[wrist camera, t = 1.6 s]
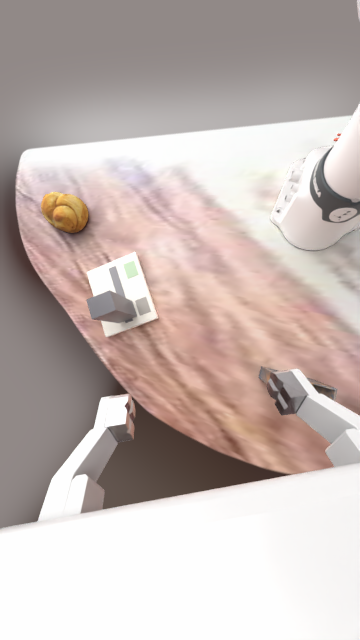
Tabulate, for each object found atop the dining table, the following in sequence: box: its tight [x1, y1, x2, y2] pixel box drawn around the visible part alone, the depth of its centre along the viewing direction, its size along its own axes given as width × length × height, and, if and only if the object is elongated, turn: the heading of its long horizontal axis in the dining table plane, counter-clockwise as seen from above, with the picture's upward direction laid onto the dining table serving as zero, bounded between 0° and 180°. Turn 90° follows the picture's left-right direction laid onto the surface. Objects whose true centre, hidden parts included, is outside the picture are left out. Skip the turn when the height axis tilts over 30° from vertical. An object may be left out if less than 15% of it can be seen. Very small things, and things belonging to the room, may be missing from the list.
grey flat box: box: [259, 367, 337, 401], centre depth 38 cm, size 11×3×10 cm, turn 77°
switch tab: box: [87, 290, 137, 323], centre depth 41 cm, size 4×5×11 cm
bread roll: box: [41, 192, 88, 233], centre depth 49 cm, size 13×10×8 cm
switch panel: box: [87, 252, 159, 337], centre depth 48 cm, size 18×14×2 cm
